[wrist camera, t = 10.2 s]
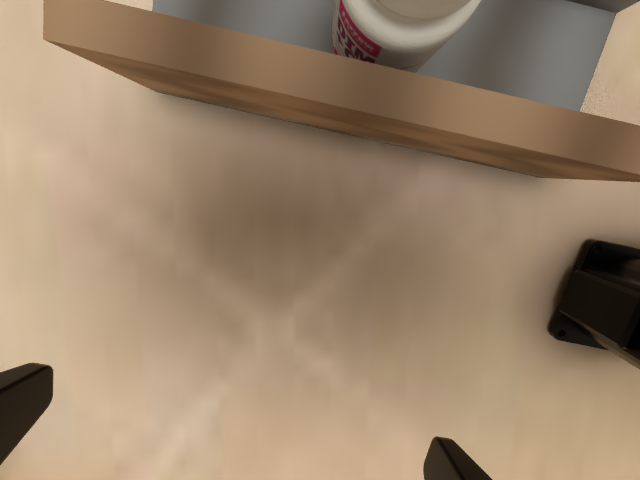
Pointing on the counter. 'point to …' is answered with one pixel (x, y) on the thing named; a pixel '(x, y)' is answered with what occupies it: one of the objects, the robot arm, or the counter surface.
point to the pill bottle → (396, 29)
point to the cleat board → (379, 76)
